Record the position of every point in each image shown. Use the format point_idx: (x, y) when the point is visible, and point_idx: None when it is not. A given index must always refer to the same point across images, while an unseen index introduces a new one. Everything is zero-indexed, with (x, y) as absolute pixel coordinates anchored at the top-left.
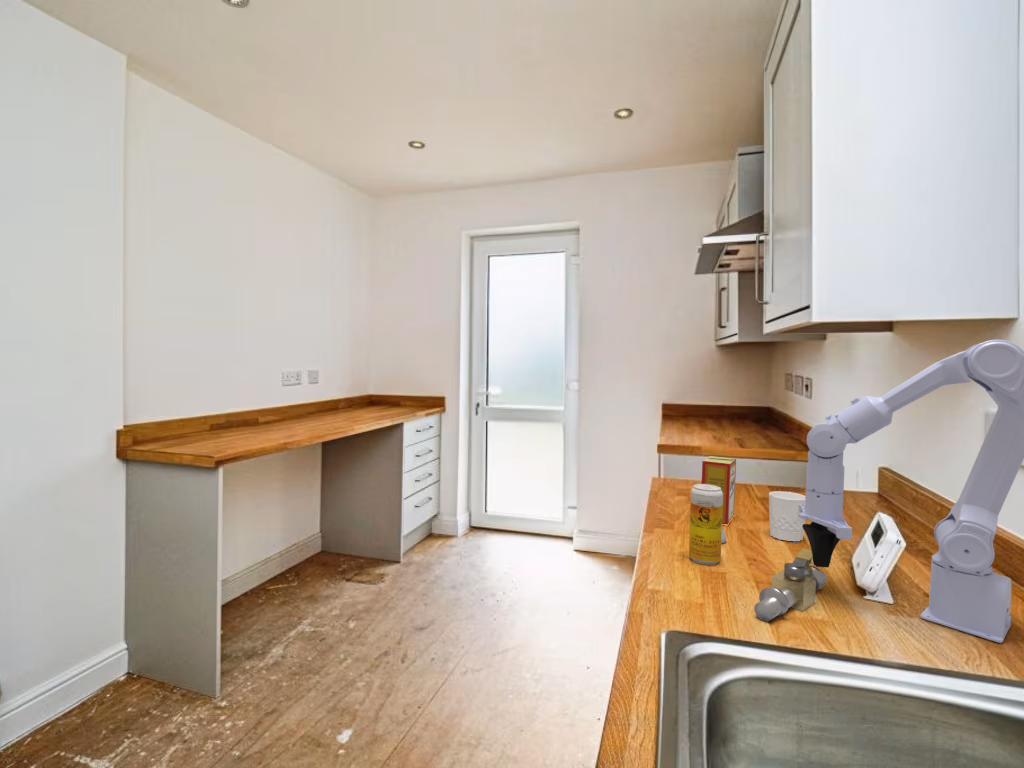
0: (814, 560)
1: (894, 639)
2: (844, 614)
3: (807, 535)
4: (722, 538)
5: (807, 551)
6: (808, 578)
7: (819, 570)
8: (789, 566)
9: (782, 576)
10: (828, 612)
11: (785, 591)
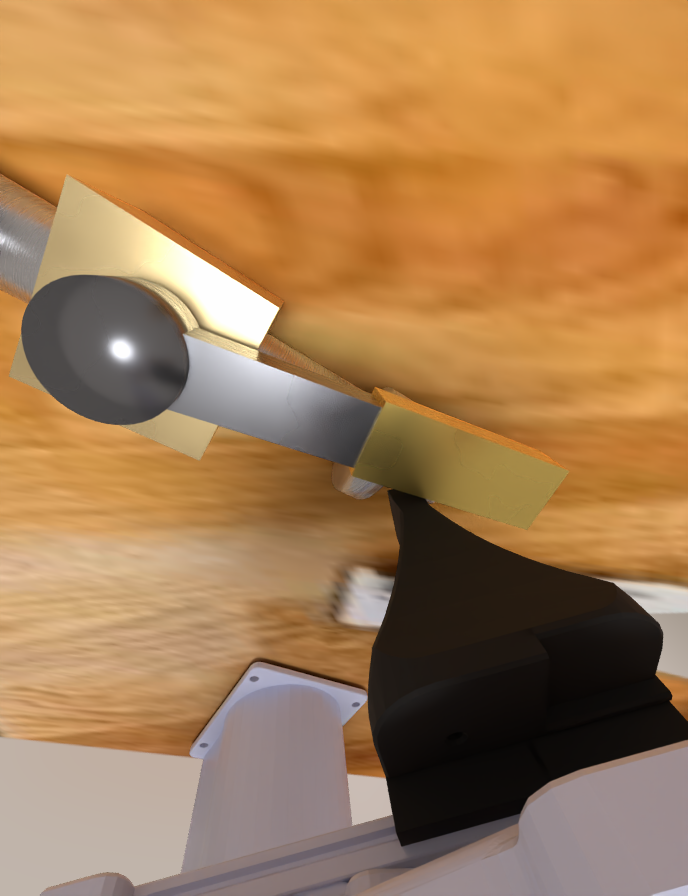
0: (403, 498)
1: (50, 588)
2: (167, 495)
3: (517, 566)
4: None
5: (511, 487)
6: (187, 425)
7: (365, 494)
8: (64, 312)
9: (124, 265)
10: (151, 447)
11: (5, 263)
